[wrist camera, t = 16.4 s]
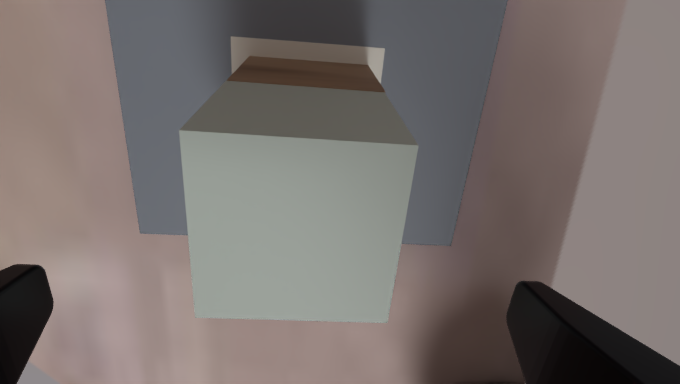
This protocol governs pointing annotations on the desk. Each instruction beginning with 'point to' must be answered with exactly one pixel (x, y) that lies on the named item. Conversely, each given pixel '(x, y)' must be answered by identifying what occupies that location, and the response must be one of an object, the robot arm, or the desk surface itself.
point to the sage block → (295, 202)
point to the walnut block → (307, 74)
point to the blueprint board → (315, 45)
